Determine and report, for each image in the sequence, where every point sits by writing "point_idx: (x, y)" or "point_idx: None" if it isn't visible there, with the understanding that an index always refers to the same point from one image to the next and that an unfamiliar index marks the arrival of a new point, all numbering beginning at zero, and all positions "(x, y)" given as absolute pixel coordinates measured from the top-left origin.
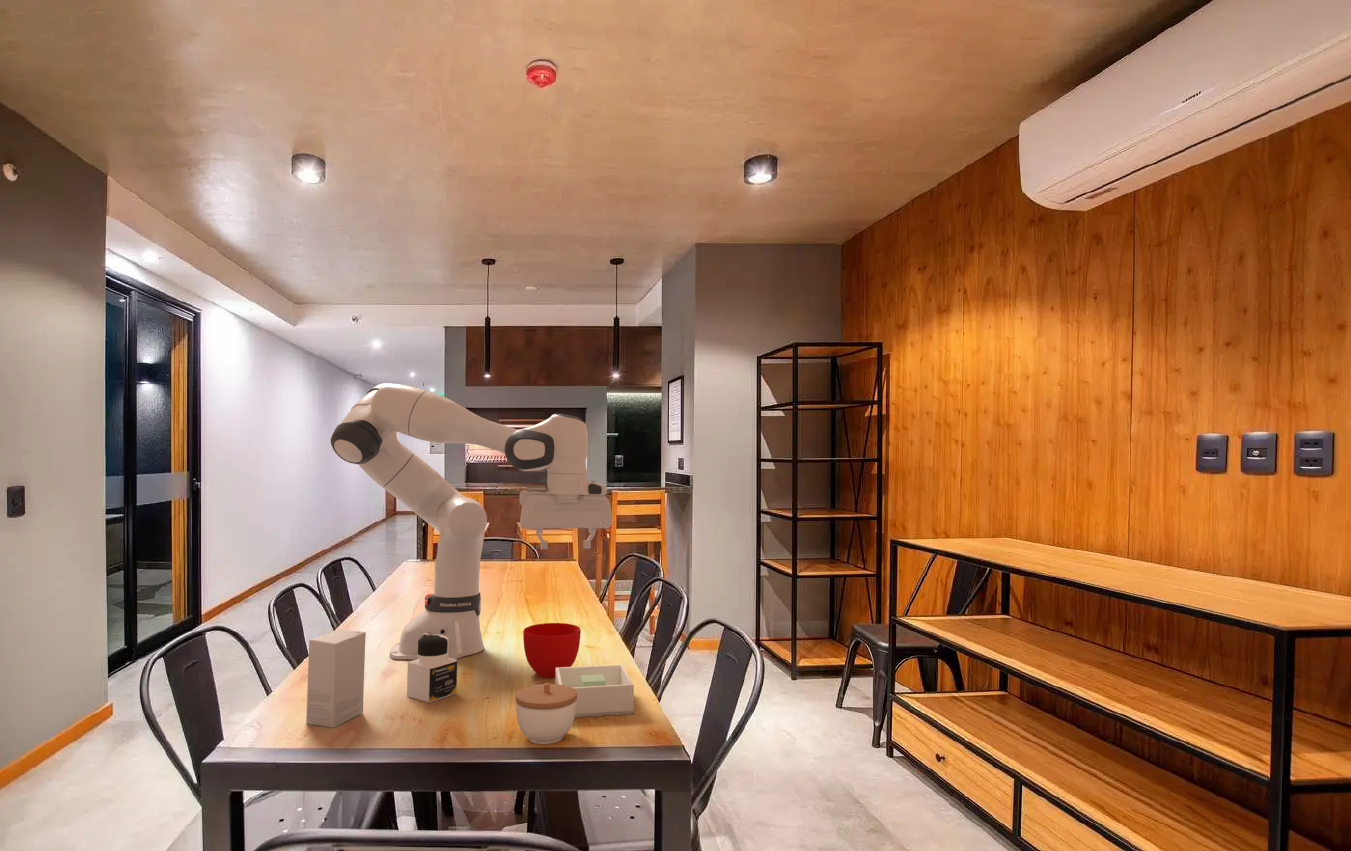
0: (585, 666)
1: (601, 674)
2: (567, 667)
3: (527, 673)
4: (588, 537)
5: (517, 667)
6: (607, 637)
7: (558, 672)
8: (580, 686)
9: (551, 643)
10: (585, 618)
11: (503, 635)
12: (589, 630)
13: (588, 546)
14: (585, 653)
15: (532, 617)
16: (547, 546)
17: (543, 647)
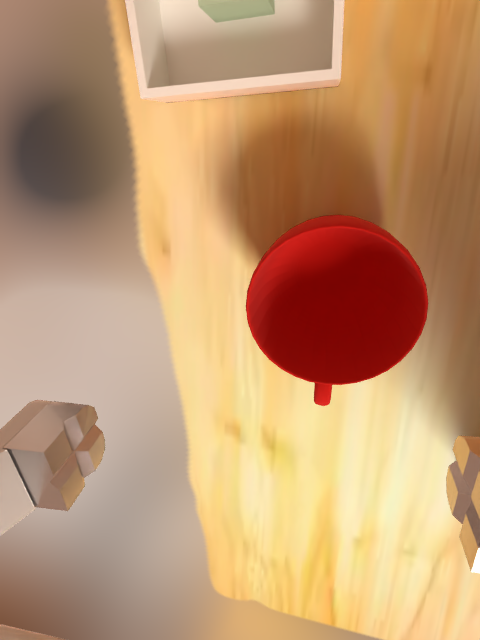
0: (247, 83)
1: (202, 2)
2: (303, 76)
3: None
4: (3, 526)
5: None
6: (199, 474)
7: (337, 11)
8: (270, 5)
9: (342, 219)
10: (237, 578)
11: (403, 533)
12: (232, 518)
13: (41, 408)
14: (245, 391)
15: (332, 608)
16: (472, 450)
17: (366, 222)
